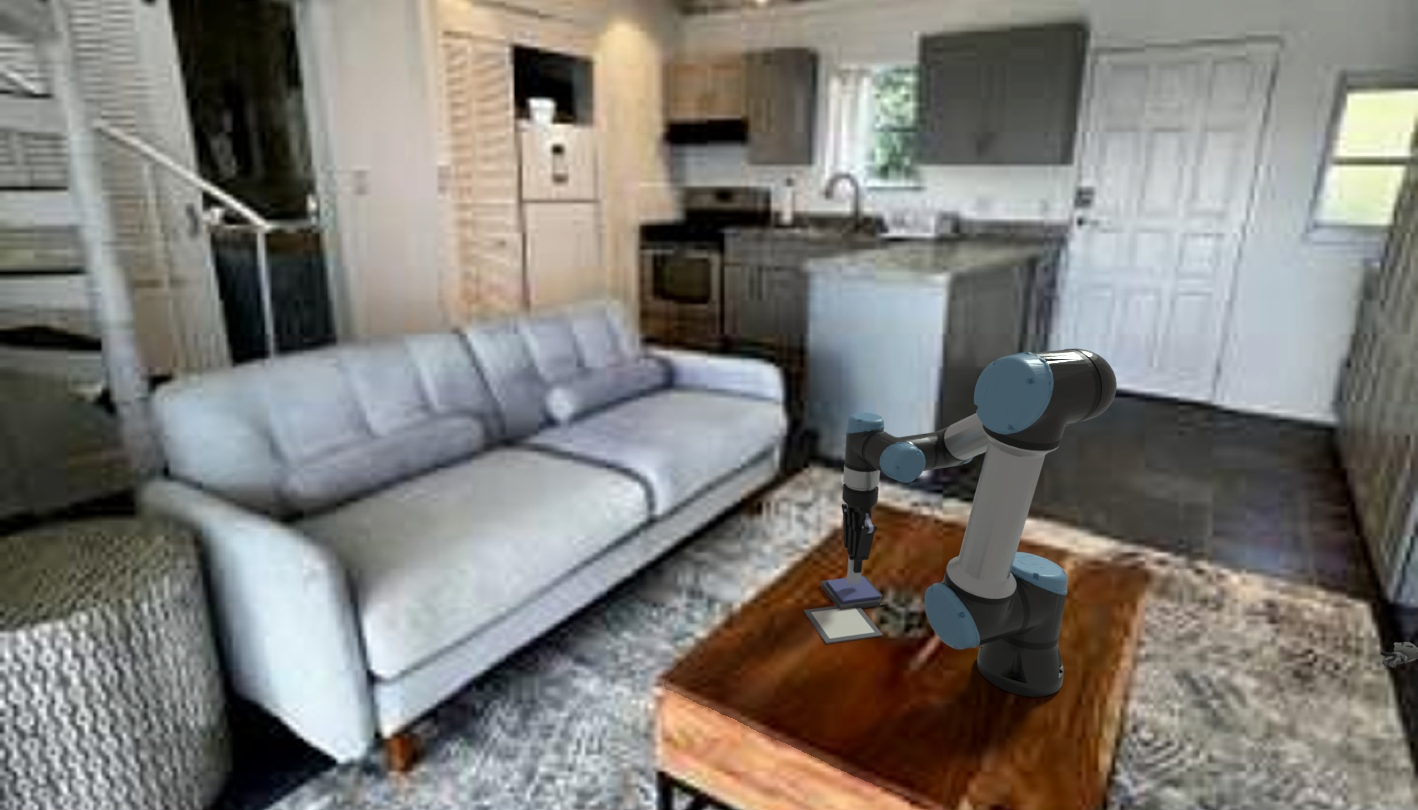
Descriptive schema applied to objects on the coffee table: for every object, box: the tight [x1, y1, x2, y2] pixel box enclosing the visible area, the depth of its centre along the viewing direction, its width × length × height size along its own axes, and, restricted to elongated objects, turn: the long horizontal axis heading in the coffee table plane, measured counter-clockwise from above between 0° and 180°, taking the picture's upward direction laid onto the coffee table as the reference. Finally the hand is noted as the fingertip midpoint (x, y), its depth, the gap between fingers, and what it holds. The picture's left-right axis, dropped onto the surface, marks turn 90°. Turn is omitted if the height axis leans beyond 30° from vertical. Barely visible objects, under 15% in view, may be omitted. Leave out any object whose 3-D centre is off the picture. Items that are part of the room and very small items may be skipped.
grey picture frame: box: [803, 605, 884, 645], centre depth 159 cm, size 12×12×1 cm
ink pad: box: [820, 575, 884, 610], centre depth 170 cm, size 11×11×2 cm
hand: (853, 582), depth 169 cm, fingers closed
